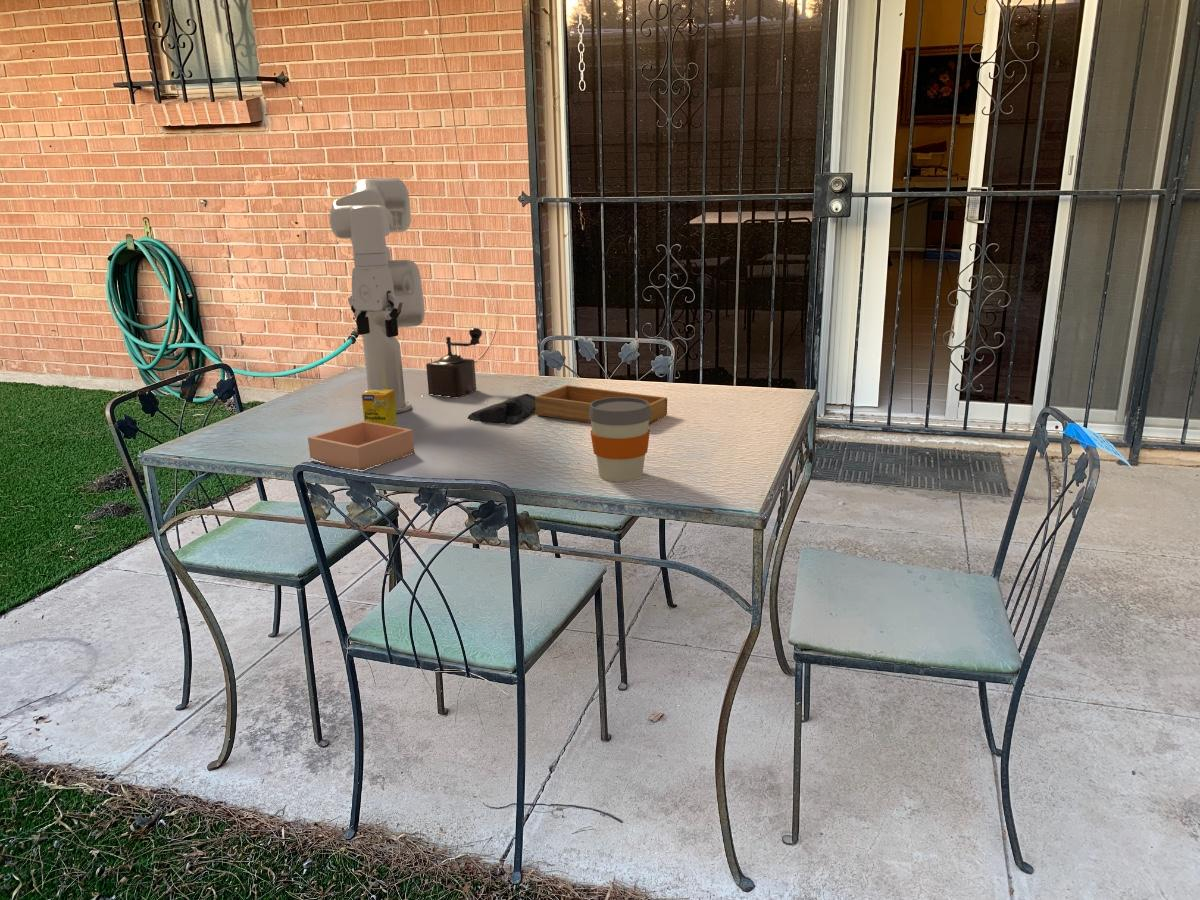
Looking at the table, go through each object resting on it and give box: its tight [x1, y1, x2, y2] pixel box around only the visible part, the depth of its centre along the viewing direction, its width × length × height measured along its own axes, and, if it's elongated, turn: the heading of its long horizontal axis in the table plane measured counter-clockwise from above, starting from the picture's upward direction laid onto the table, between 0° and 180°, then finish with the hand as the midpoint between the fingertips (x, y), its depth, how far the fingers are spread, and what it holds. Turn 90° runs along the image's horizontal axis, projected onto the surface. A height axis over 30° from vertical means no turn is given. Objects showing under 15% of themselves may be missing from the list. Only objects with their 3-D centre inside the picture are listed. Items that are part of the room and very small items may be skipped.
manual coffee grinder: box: [425, 327, 483, 398], centre depth 255 cm, size 16×11×18 cm
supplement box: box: [361, 389, 398, 427], centre depth 212 cm, size 6×6×11 cm
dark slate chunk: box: [467, 393, 536, 425], centre depth 231 cm, size 15×22×5 cm
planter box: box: [307, 420, 415, 470], centre depth 195 cm, size 16×16×6 cm
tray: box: [534, 384, 668, 425], centre depth 225 cm, size 31×15×6 cm, turn 59°
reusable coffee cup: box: [589, 397, 651, 483], centre depth 178 cm, size 13×13×15 cm
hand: (378, 335), depth 207 cm, fingers open, 9 cm apart
